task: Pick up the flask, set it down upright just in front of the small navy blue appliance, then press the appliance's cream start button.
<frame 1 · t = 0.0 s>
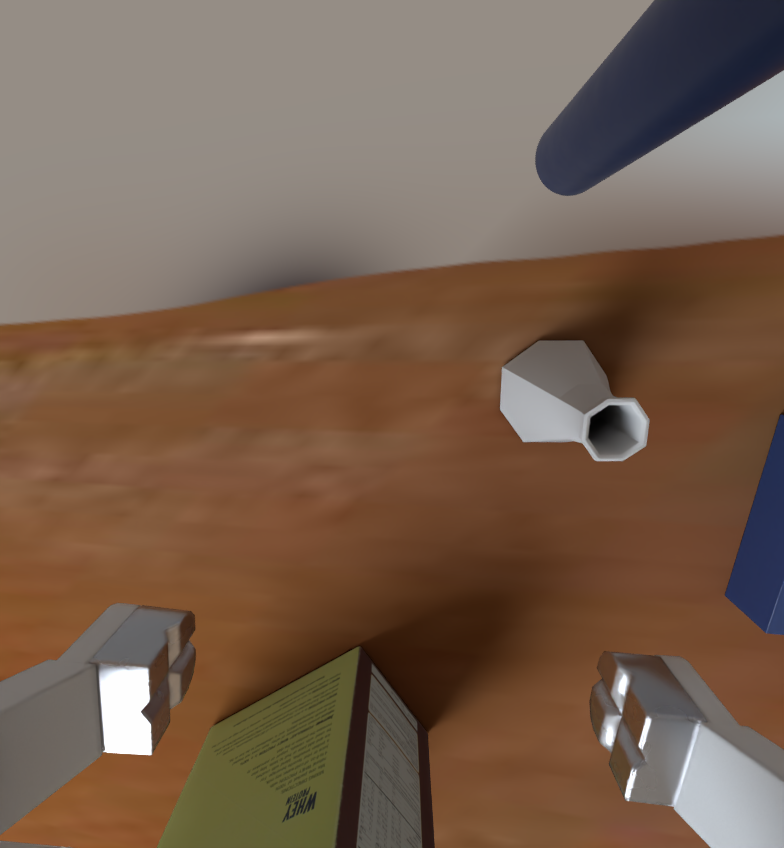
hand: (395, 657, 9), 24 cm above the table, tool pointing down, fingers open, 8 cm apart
flask: (550, 391, 32), on the table
protein box: (319, 728, 40), on the table
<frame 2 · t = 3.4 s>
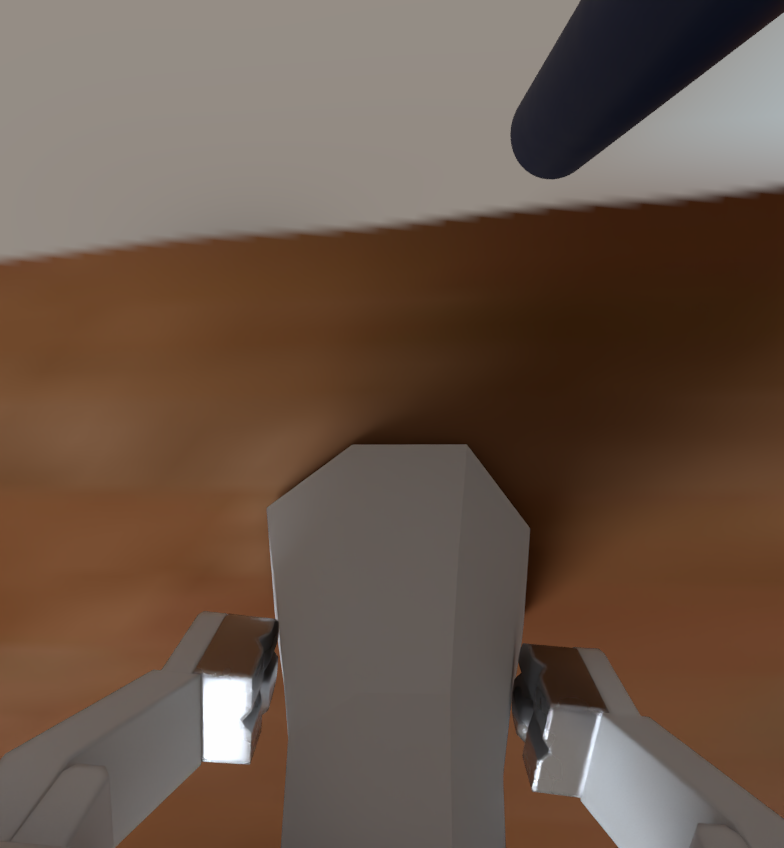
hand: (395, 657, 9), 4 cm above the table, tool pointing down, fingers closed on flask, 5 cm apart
flask: (398, 557, 13), on the table, touching gripper
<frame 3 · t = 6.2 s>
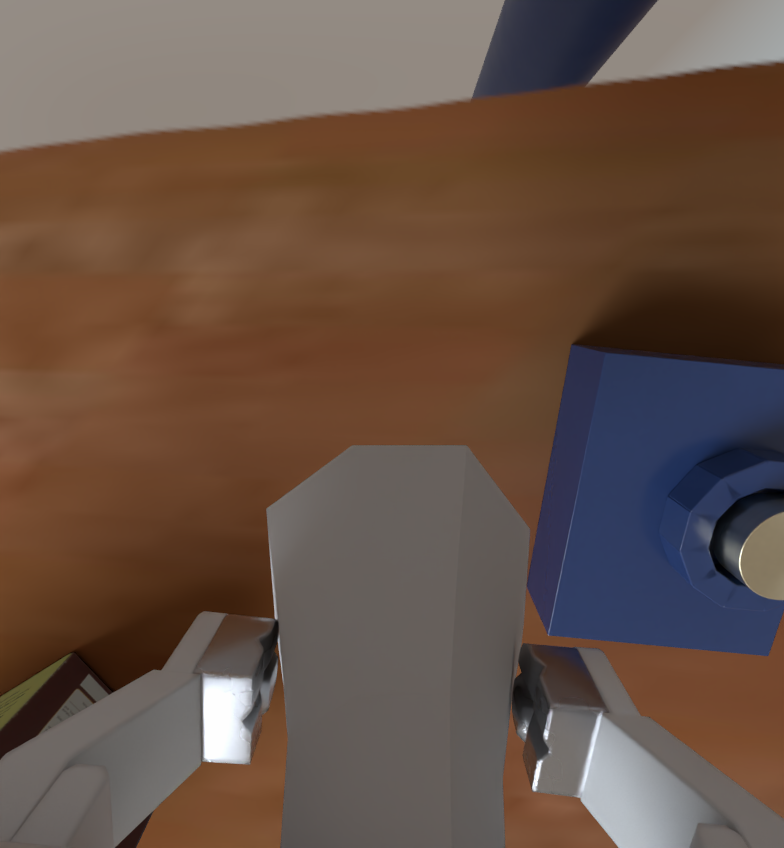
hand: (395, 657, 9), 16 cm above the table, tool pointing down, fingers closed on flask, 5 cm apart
appliance: (647, 483, 26), on the table
flask: (398, 558, 13), point 13 cm above the table, touching gripper
start button: (774, 545, 20), point 6 cm above the table, slide at 0.1 cm
protein box: (46, 754, 32), on the table
when the fingers open (3 cm above the table, at t = 9.6 s): flask stays where it is, on the table.
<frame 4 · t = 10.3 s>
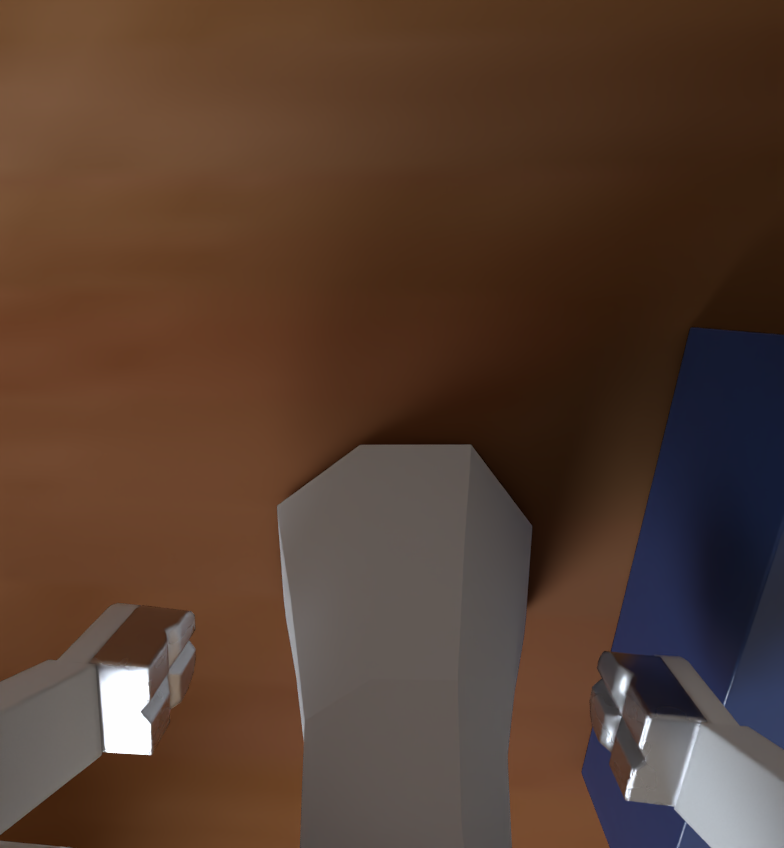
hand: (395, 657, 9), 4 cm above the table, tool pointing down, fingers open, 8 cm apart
flask: (404, 554, 14), on the table
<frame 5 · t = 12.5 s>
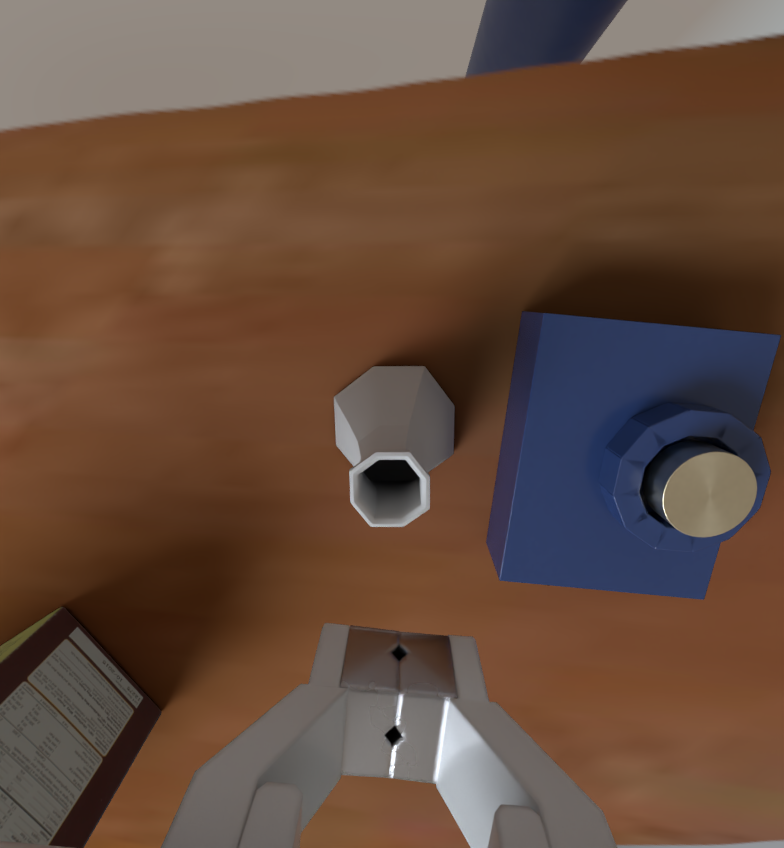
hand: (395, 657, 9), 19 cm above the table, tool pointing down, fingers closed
appliance: (596, 442, 28), on the table
flask: (394, 423, 28), on the table
start button: (697, 488, 21), point 6 cm above the table, slide at 0.1 cm
protein box: (38, 706, 34), on the table
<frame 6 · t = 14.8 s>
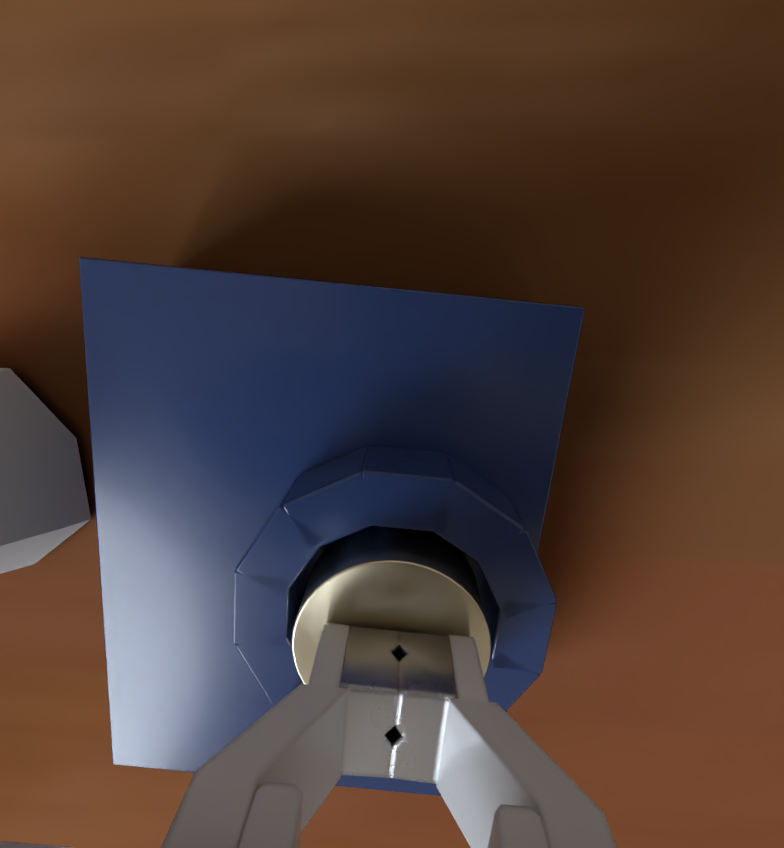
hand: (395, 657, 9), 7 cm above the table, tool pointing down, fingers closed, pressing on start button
appliance: (336, 501, 16), on the table
start button: (391, 622, 10), point 6 cm above the table, slide at -0.5 cm, touching gripper
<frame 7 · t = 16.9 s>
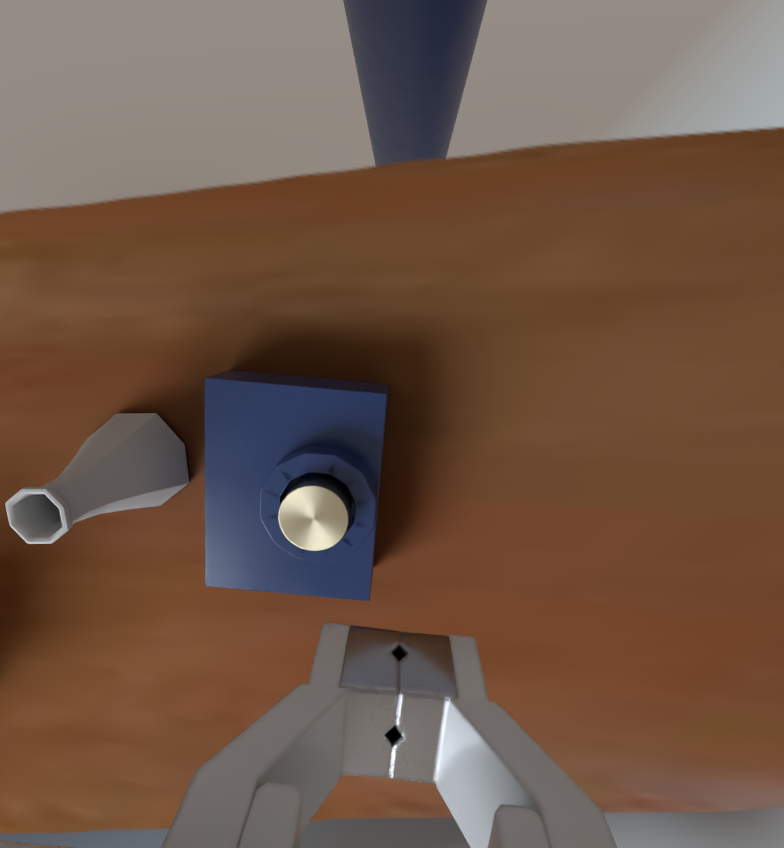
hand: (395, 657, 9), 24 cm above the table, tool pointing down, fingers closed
appliance: (304, 473, 34), on the table
flask: (142, 458, 34), on the table
start button: (315, 512, 28), point 6 cm above the table, slide at 0.1 cm
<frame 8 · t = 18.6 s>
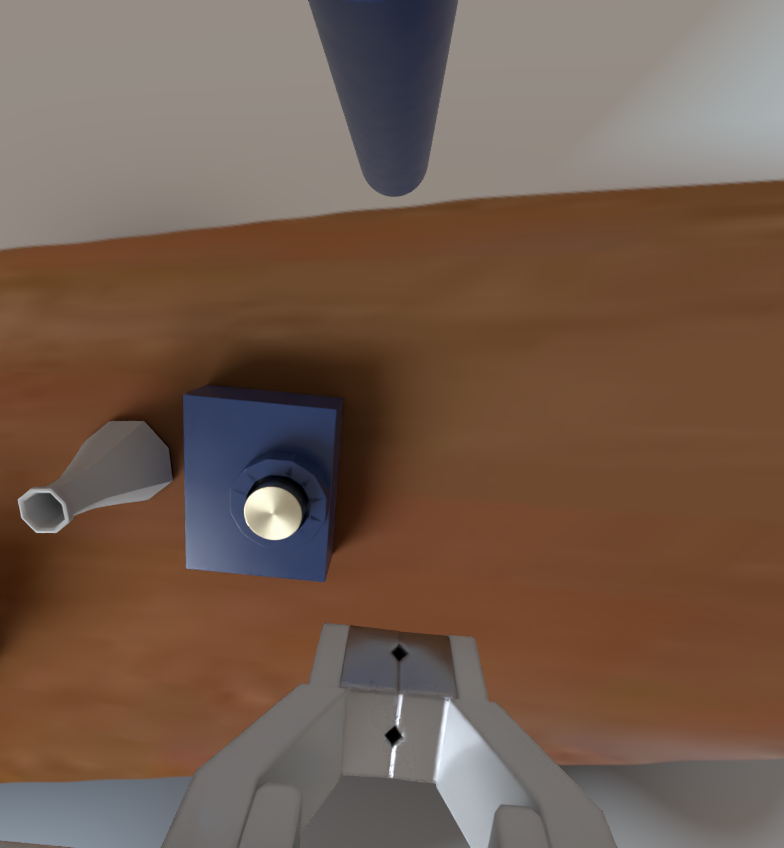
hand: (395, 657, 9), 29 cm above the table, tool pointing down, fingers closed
appliance: (272, 473, 40), on the table
flask: (132, 459, 40), on the table
start button: (276, 508, 33), point 6 cm above the table, slide at 0.1 cm
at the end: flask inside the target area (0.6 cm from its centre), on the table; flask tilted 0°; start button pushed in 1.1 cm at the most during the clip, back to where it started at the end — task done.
